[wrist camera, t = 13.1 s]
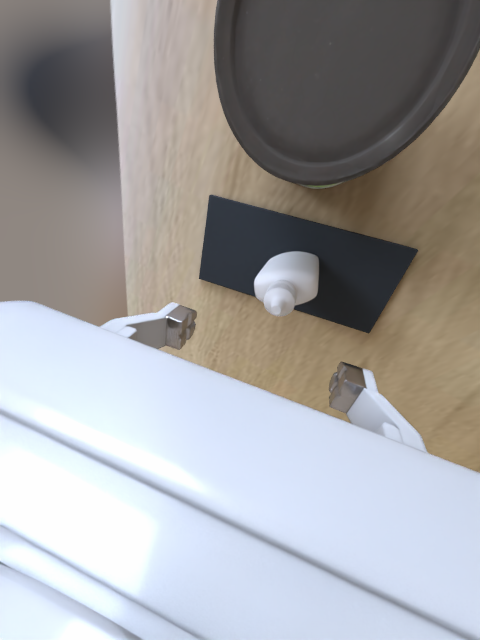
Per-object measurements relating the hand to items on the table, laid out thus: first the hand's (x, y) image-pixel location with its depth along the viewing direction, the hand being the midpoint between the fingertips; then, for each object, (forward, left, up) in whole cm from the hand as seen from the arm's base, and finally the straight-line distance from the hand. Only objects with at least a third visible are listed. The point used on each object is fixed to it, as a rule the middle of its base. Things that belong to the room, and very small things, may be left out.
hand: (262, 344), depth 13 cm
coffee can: (-13, -1, -17) cm, 22 cm away
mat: (0, 0, -17) cm, 17 cm away
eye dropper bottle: (0, 0, -17) cm, 17 cm away
